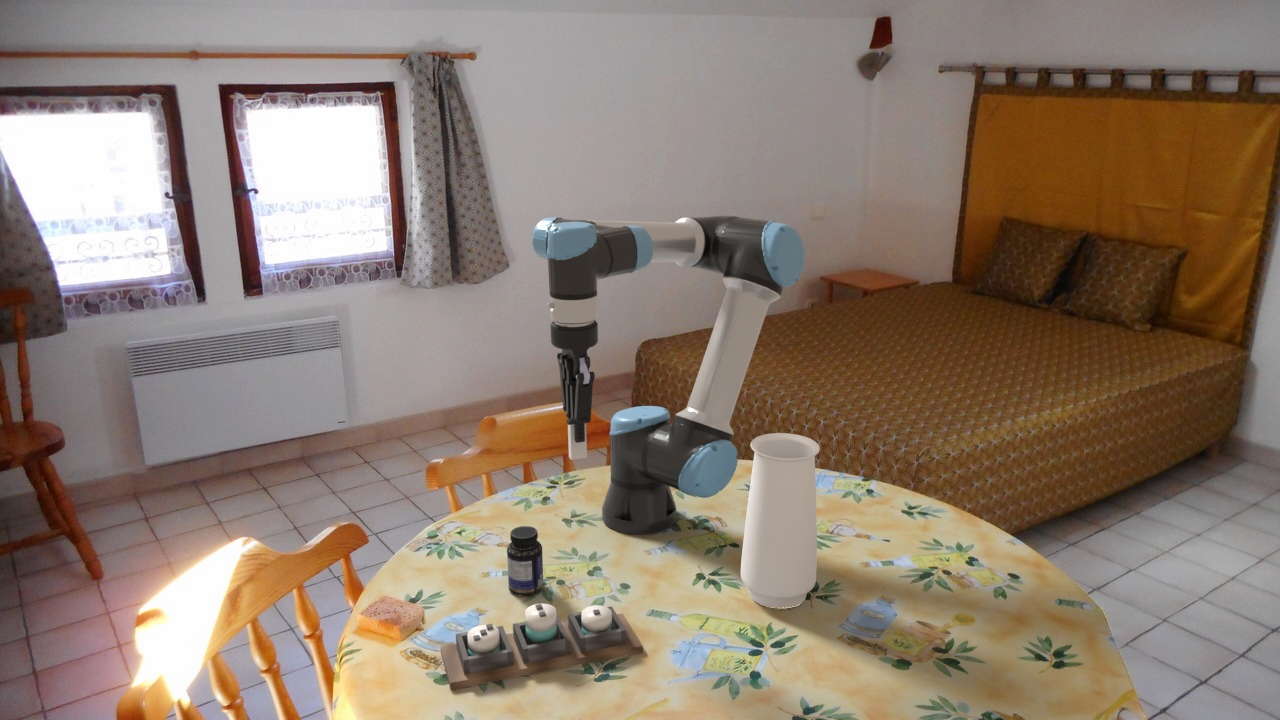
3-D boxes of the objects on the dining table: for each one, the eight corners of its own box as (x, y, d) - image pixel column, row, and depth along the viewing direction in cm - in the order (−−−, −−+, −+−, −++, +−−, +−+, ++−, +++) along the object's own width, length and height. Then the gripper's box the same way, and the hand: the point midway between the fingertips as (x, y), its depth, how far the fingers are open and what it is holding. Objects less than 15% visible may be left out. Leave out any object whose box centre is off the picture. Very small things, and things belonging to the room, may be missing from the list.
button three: (496, 645, 153) (495, 620, 152) (503, 662, 149) (501, 636, 148) (466, 650, 152) (464, 625, 151) (471, 668, 148) (470, 642, 146)
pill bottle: (529, 576, 177) (527, 520, 173) (550, 588, 172) (549, 531, 169) (501, 588, 172) (499, 531, 169) (522, 601, 168) (520, 543, 165)
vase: (743, 572, 178) (749, 428, 170) (816, 580, 176) (825, 434, 167) (735, 610, 166) (741, 456, 158) (813, 618, 163) (823, 463, 155)
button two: (552, 623, 156) (551, 599, 154) (560, 639, 151) (559, 614, 150) (522, 629, 154) (522, 604, 153) (529, 645, 150) (528, 620, 148)
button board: (622, 619, 163) (622, 599, 162) (642, 652, 154) (642, 631, 153) (440, 652, 153) (439, 632, 152) (450, 690, 144) (449, 668, 143)
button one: (606, 624, 159) (606, 600, 158) (615, 640, 155) (615, 616, 153) (578, 630, 158) (577, 606, 156) (586, 646, 153) (586, 621, 152)
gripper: (540, 313, 161) (545, 446, 168) (562, 333, 149) (567, 476, 156) (584, 308, 163) (587, 440, 170) (609, 328, 151) (611, 468, 159)
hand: (577, 457), depth 163 cm, fingers closed
